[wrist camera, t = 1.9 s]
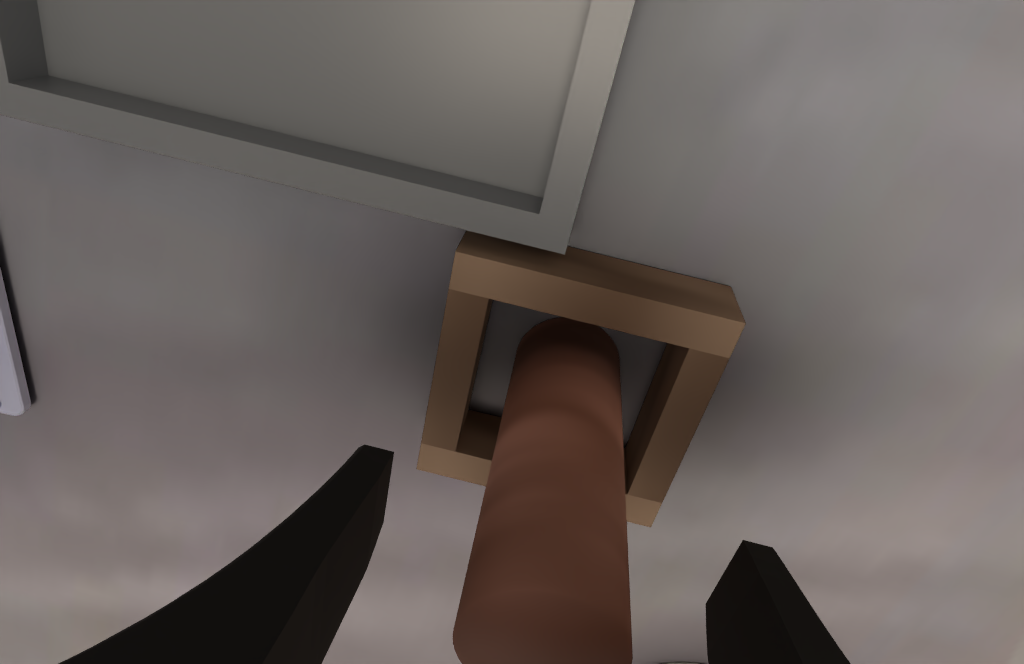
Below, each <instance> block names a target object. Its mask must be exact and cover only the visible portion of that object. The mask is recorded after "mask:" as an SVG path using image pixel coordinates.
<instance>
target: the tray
mask: <svg viewBox="0 0 1024 664" xmlns="http://www.w3.org/2000/svg"><path fill="white" fill-rule="evenodd" d="M634 3H635V0H0V115H3V116H7V117H12V118H16V119H20V120H24V121H28V122H32V123H36V124H40V125H44V126H48V127H52V128H56V129H60V130H64V131H68V132H72V133H76V134H80V135H84V136H88V137H92V138H96V139H100V140H104V141H108V142H112V143H116V144H120V145H124V146H129V147H133V148H137V149H141V150H145V151H149V152H153V153H157V154H161V155H165V156H169V157H173V158H177V159H181V160H185V161H189V162H193V163H197V164H201V165H205V166H209V167H213V168H217V169H221V170H225V171H229V172H233V173H237V174H242V175H246V176H250V177H254V178H258V179H262V180H266V181H270V182H274V183H278V184H282V185H286V186H290V187H294V188H298V189H302V190H306V191H310V192H314V193H318V194H322V195H326V196H330V197H334V198H338V199H342V200H346V201H350V202H354V203H359V204H363V205H367V206H371V207H375V208H379V209H383V210H387V211H391V212H395V213H399V214H403V215H407V216H411V217H415V218H419V219H423V220H427V221H431V222H435V223H439V224H443V225H447V226H451V227H455V228H459V229H463V230H467V231H472V232H476V233H480V234H484V235H488V236H492V237H496V238H500V239H504V240H508V241H512V242H516V243H520V244H524V245H528V246H532V247H536V248H540V249H544V250H548V251H552V252H556V253H560V254H564V255H565V252H566V249H567V245H568V241H569V238H570V234H571V231H572V227H573V223H574V220H575V216H576V213H577V209H578V205H579V202H580V198H581V195H582V191H583V187H584V184H585V180H586V176H587V173H588V169H589V166H590V162H591V158H592V155H593V151H594V148H595V144H596V140H597V137H598V133H599V130H600V126H601V122H602V119H603V115H604V111H605V108H606V104H607V101H608V97H609V93H610V90H611V86H612V83H613V79H614V75H615V72H616V68H617V65H618V61H619V57H620V54H621V50H622V46H623V43H624V39H625V36H626V32H627V28H628V25H629V21H630V18H631V14H632V10H633V7H634Z"/></svg>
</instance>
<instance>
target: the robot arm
mask: <svg viewBox="0 0 1024 664" xmlns="http://www.w3.org/2000/svg"><path fill="white" fill-rule="evenodd" d="M30 407H31V400H30V396H29V391H28V387H27V383H26V378H25V374H24V370H23V365H22V361H21V356H20V352H19V348H18V343H17V339H16V334H15V330H14V326H13V321H12V317H11V312H10V308H9V304H8V299H7V295H6V291H5V286H4V282H3V277H2V273H1V269H0V413H4V414H8V415H12V416H19V415H22V414H23V413H25V412H26V411H27V410H28V409H29V408H30ZM393 455H394V452H392V451H388V450H384V449H380V448H376V447H372V446H368V445H363V446H361V447H359V448H358V449H357V450H356V451H355V452H354V454H353V455H352V456H351V457H350V458H349V459H348V460H347V461H346V462H345V464H344V465H343V466H342V467H341V468H340V469H339V470H338V471H337V472H336V473H335V474H334V475H333V476H332V477H331V478H330V479H329V480H328V481H327V482H326V483H325V484H324V485H323V486H322V487H321V488H320V489H319V490H318V491H316V492H315V493H314V494H313V495H312V496H311V497H310V498H309V499H308V500H307V501H306V502H304V503H303V504H302V505H301V506H300V507H299V508H298V509H297V510H296V511H295V512H293V513H292V514H291V515H290V516H289V517H288V518H287V519H285V520H284V521H283V522H282V523H281V524H279V525H278V526H277V527H276V528H274V529H273V530H272V531H271V532H270V533H268V534H267V535H266V536H265V537H263V538H262V539H261V540H260V541H259V542H257V543H256V544H255V545H254V546H252V547H251V548H250V549H248V550H247V551H246V552H244V553H243V554H242V555H240V556H239V557H238V558H236V559H235V560H234V561H232V562H231V563H230V564H228V565H227V566H225V567H224V568H222V569H221V570H220V571H218V572H217V573H215V574H214V575H212V576H211V577H210V578H208V579H207V580H205V581H204V582H202V583H201V584H199V585H197V586H196V587H194V588H193V589H191V590H190V591H188V592H187V593H185V594H183V595H182V596H180V597H179V598H177V599H176V600H174V601H173V602H171V603H169V604H168V605H166V606H164V607H163V608H161V609H159V610H158V611H156V612H154V613H153V614H151V615H149V616H148V617H146V618H144V619H142V620H140V621H139V622H137V623H135V624H133V625H131V626H130V627H128V628H126V629H124V630H122V631H120V632H119V633H117V634H115V635H113V636H111V637H109V638H108V639H106V640H104V641H102V642H100V643H99V644H97V645H95V646H93V647H91V648H89V649H87V650H85V651H83V652H81V653H79V654H77V655H75V656H73V657H71V658H69V659H67V660H65V661H63V662H61V663H59V664H322V662H323V659H324V657H325V655H326V653H327V651H328V649H329V647H330V645H331V643H332V641H333V639H334V637H335V635H336V632H337V630H338V628H339V626H340V624H341V622H342V620H343V618H344V616H345V614H346V612H347V610H348V608H349V605H350V603H351V601H352V599H353V597H354V595H355V593H356V591H357V589H358V587H359V584H360V582H361V580H362V578H363V576H364V574H365V572H366V570H367V567H368V564H369V561H370V559H371V556H372V553H373V550H374V548H375V545H376V542H377V539H378V536H379V533H380V530H381V528H382V525H383V521H384V515H385V508H386V502H387V495H388V488H389V482H390V475H391V469H392V462H393ZM706 634H707V653H708V661H709V664H850V662H849V661H848V660H847V658H846V657H845V655H844V654H843V652H842V651H841V650H840V648H839V647H838V645H837V644H836V642H835V641H834V639H833V638H832V636H831V635H830V633H829V632H828V631H827V629H826V628H825V626H824V625H823V623H822V622H821V620H820V619H819V617H818V616H817V614H816V613H815V611H814V609H813V608H812V606H811V605H810V603H809V602H808V600H807V599H806V597H805V596H804V594H803V593H802V591H801V590H800V588H799V587H798V585H797V583H796V582H795V580H794V579H793V577H792V576H791V574H790V573H789V571H788V570H787V568H786V567H785V565H784V563H783V562H782V560H781V559H780V557H779V556H778V555H777V553H776V552H775V550H774V549H773V548H772V547H768V546H764V545H760V544H756V543H752V542H749V541H745V540H743V541H742V543H741V544H740V546H739V548H738V550H737V551H736V553H735V555H734V556H733V558H732V560H731V562H730V563H729V565H728V567H727V568H726V570H725V572H724V573H723V575H722V577H721V579H720V580H719V582H718V584H717V585H716V587H715V589H714V591H713V592H712V594H711V596H710V597H709V599H708V601H707V603H706Z"/></svg>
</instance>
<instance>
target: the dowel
mask: <svg viewBox="0 0 1024 664" xmlns="http://www.w3.org/2000/svg"><path fill="white" fill-rule="evenodd" d="M453 645H454V649H455V652H456V654H457V656H458V658H459V660H460V661H461V663H462V664H632V658H633V657H632V634H631V611H630V588H629V565H628V542H627V519H626V496H625V473H624V451H623V428H622V405H621V382H620V359H619V353H618V350H617V348H616V345H615V344H614V342H613V340H612V339H611V338H610V336H609V335H608V334H607V333H606V332H605V331H603V330H602V329H601V328H600V327H598V326H596V325H593V324H589V323H585V322H581V321H577V320H573V319H569V318H565V317H562V318H554V319H550V320H547V321H544V322H542V323H540V324H538V325H536V326H534V327H533V328H532V329H531V330H529V331H528V332H527V333H526V334H525V336H524V337H523V338H522V340H521V342H520V344H519V346H518V349H517V352H516V357H515V361H514V366H513V370H512V374H511V379H510V383H509V388H508V392H507V396H506V401H505V405H504V410H503V414H502V419H501V423H500V427H499V432H498V436H497V441H496V445H495V449H494V454H493V458H492V463H491V467H490V471H489V476H488V480H487V485H486V489H485V494H484V498H483V502H482V507H481V511H480V516H479V520H478V524H477V529H476V533H475V538H474V542H473V546H472V551H471V555H470V560H469V564H468V569H467V573H466V577H465V582H464V586H463V591H462V595H461V599H460V604H459V608H458V613H457V617H456V621H455V626H454V631H453Z"/></svg>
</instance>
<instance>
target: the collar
mask: <svg viewBox="0 0 1024 664" xmlns="http://www.w3.org/2000/svg"><path fill="white" fill-rule="evenodd" d="M493 300H496V301H500V302H504V303H509V304H513V305H517V306H521V307H525V308H529V309H533V310H537V311H541V312H545V313H549V314H553V315H557V316H561V317H565V318H569V319H573V320H577V321H581V322H585V323H589V324H593V325H597V326H601V327H605V328H609V329H613V330H617V331H621V332H625V333H629V334H633V335H638V336H642V337H646V338H650V339H654V340H658V341H662V342H666V343H667V346H666V348H665V351H664V353H663V356H662V358H661V361H660V363H659V366H658V368H657V371H656V373H655V376H654V378H653V381H652V383H651V386H650V388H649V391H648V393H647V396H646V398H645V401H644V403H643V406H642V408H641V411H640V413H639V416H638V418H637V421H636V423H635V426H634V428H633V431H632V433H631V436H630V438H629V441H628V443H627V446H626V448H623V451H624V473H625V496H626V519H627V522H632V523H636V524H640V525H644V526H648V527H651V526H652V524H653V521H654V519H655V517H656V515H657V513H658V511H659V508H660V506H661V504H662V502H663V500H664V498H665V496H666V493H667V491H668V489H669V487H670V485H671V483H672V481H673V478H674V476H675V474H676V472H677V470H678V468H679V466H680V463H681V461H682V459H683V457H684V455H685V453H686V451H687V448H688V446H689V444H690V442H691V440H692V438H693V436H694V433H695V431H696V429H697V427H698V425H699V423H700V421H701V418H702V416H703V414H704V412H705V410H706V408H707V406H708V403H709V401H710V399H711V397H712V395H713V393H714V391H715V388H716V386H717V384H718V382H719V380H720V378H721V376H722V373H723V371H724V369H725V367H726V365H727V363H728V361H729V358H730V356H731V354H732V352H733V350H734V348H735V346H736V343H737V341H738V339H739V337H740V335H741V333H742V331H743V328H744V326H745V324H746V323H745V320H744V318H743V315H742V313H741V310H740V308H739V305H738V303H737V301H736V298H735V296H734V293H733V291H732V288H731V287H730V286H726V285H722V284H718V283H714V282H710V281H706V280H702V279H698V278H693V277H689V276H685V275H681V274H677V273H673V272H669V271H665V270H661V269H657V268H653V267H649V266H645V265H641V264H637V263H633V262H629V261H625V260H621V259H617V258H613V257H609V256H605V255H601V254H597V253H593V252H589V251H585V250H580V249H576V248H572V247H568V246H567V249H566V252H565V255H564V254H560V253H556V252H552V251H548V250H544V249H540V248H536V247H532V246H528V245H524V244H520V243H516V242H512V241H508V240H504V239H500V238H496V237H492V236H488V235H484V234H480V233H476V232H472V231H467V230H466V232H465V234H464V236H463V238H462V240H461V242H460V244H459V246H458V248H457V249H456V251H455V257H454V262H453V268H452V274H451V279H450V285H449V290H448V296H447V301H446V307H445V313H444V318H443V324H442V329H441V335H440V341H439V346H438V352H437V357H436V363H435V368H434V374H433V380H432V385H431V391H430V396H429V402H428V407H427V413H426V419H425V424H424V430H423V435H422V441H421V447H420V452H419V458H418V463H417V469H418V470H422V471H426V472H430V473H434V474H438V475H442V476H446V477H450V478H455V479H459V480H463V481H467V482H471V483H475V484H479V485H483V486H486V485H487V480H488V476H489V471H490V467H491V463H492V458H493V454H494V449H495V445H496V441H497V436H498V432H499V427H500V423H501V419H502V418H501V417H497V416H493V415H489V414H484V413H480V412H476V411H472V410H468V409H469V405H470V400H471V396H472V391H473V387H474V382H475V378H476V373H477V369H478V364H479V360H480V355H481V351H482V346H483V342H484V337H485V333H486V328H487V324H488V319H489V315H490V310H491V306H492V301H493Z"/></svg>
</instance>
